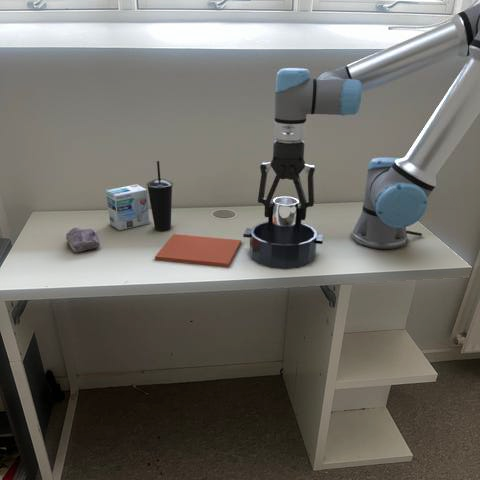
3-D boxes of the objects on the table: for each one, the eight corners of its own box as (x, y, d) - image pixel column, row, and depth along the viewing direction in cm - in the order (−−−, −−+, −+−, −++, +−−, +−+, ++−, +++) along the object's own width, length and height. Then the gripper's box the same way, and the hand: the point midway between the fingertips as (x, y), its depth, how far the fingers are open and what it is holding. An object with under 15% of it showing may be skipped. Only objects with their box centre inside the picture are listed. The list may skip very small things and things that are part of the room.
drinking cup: (171, 233, 150) (166, 165, 139) (146, 231, 151) (140, 163, 140) (178, 224, 156) (175, 158, 145) (155, 222, 157) (149, 157, 147)
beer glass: (274, 260, 134) (277, 206, 126) (266, 250, 140) (268, 197, 132) (299, 258, 135) (303, 204, 127) (290, 247, 141) (294, 195, 133)
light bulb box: (119, 231, 151) (114, 195, 145) (109, 224, 155) (104, 190, 150) (150, 223, 157) (147, 189, 151) (140, 217, 161) (136, 183, 155)
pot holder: (241, 243, 144) (241, 240, 143) (228, 267, 131) (228, 263, 130) (174, 237, 147) (173, 233, 147) (155, 259, 134) (154, 256, 134)
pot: (323, 245, 143) (325, 223, 140) (318, 272, 129) (321, 248, 125) (250, 238, 147) (251, 217, 143) (238, 264, 132) (238, 241, 129)
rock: (91, 235, 148) (89, 220, 145) (103, 250, 139) (101, 234, 137) (63, 241, 144) (60, 226, 142) (73, 256, 136) (70, 240, 133)
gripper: (245, 141, 120) (244, 232, 133) (329, 145, 117) (321, 238, 129) (251, 134, 127) (250, 222, 139) (331, 138, 123) (323, 227, 135)
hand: (284, 229), depth 134 cm, fingers closed on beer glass, 7 cm apart
